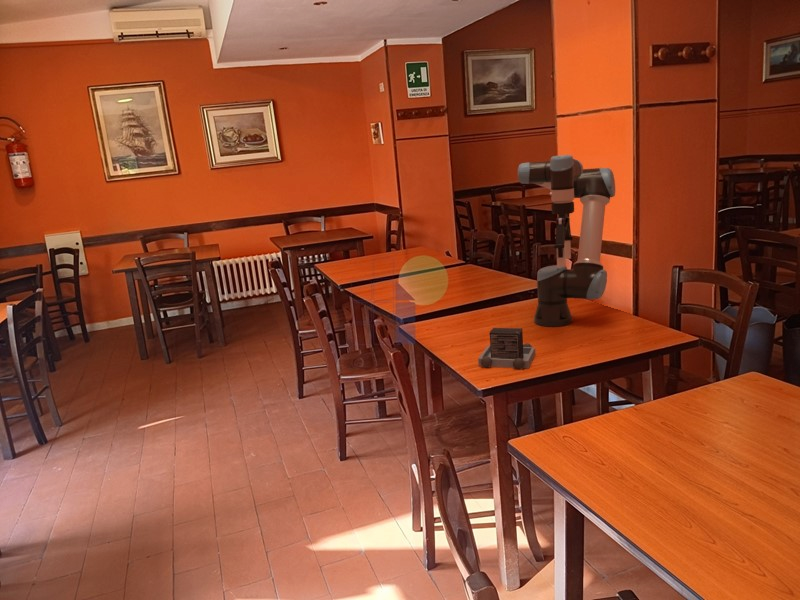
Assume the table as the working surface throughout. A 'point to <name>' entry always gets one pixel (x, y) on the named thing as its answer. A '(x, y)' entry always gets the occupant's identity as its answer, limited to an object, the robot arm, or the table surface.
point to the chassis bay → (516, 363)
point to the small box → (506, 343)
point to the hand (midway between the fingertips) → (564, 262)
